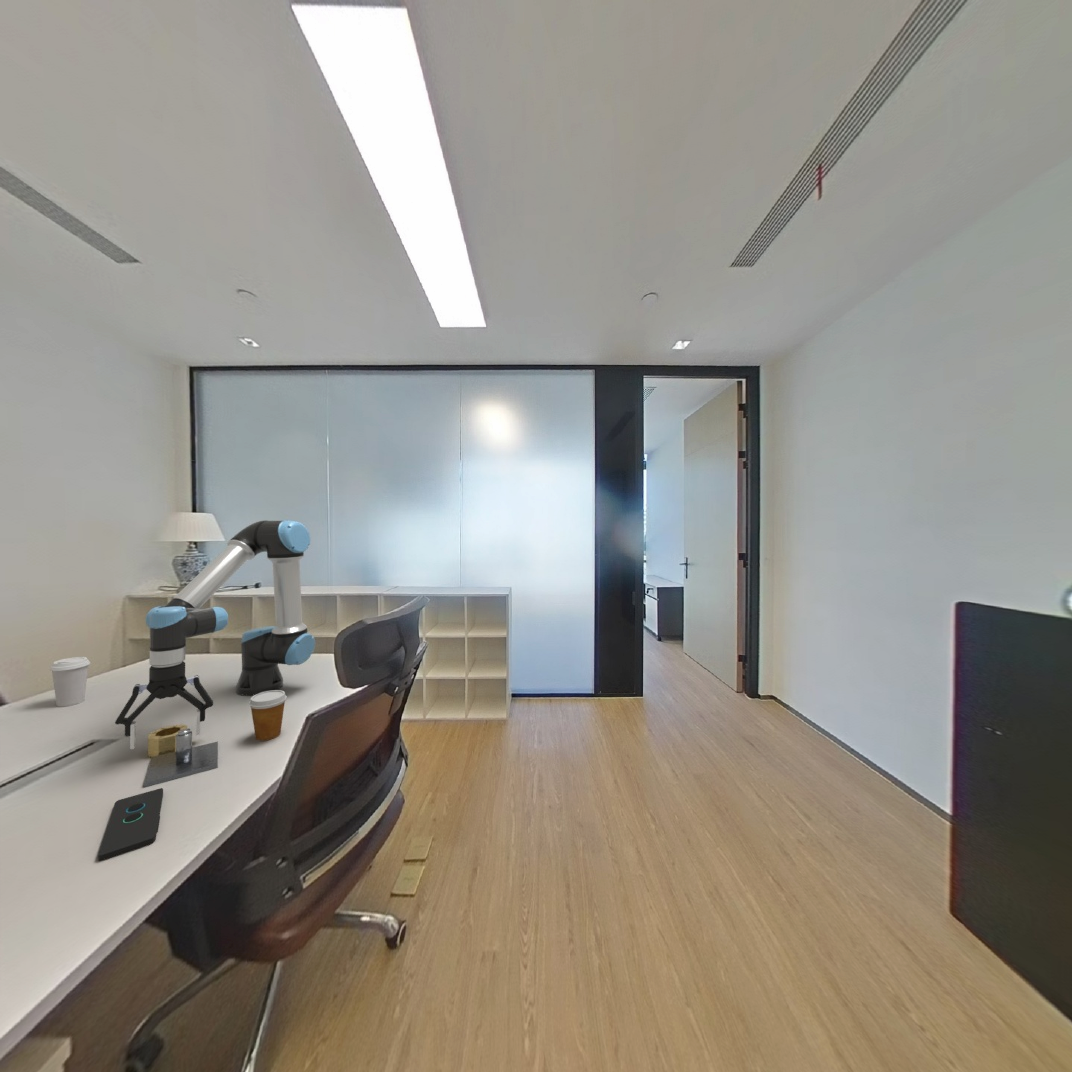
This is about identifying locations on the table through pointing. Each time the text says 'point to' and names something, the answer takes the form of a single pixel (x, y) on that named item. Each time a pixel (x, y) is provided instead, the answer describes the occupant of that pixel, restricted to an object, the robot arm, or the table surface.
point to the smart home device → (132, 824)
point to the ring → (163, 740)
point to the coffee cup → (70, 680)
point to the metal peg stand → (182, 760)
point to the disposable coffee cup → (267, 713)
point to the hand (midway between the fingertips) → (166, 739)
